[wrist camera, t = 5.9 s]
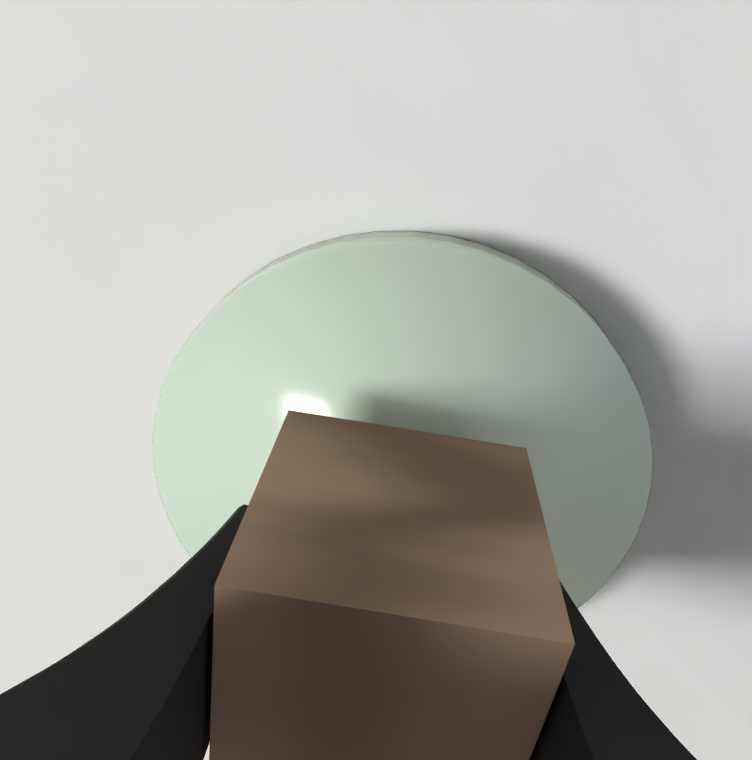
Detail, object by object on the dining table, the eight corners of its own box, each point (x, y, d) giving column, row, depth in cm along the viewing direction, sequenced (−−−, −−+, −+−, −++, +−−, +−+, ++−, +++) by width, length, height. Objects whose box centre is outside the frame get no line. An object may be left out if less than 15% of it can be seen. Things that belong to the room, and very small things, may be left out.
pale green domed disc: (718, 288, 14) (742, 306, 13) (554, 661, 19) (561, 696, 18) (177, 183, 14) (156, 192, 13) (165, 586, 19) (149, 617, 18)
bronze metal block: (526, 447, 13) (575, 644, 9) (476, 620, 15) (494, 847, 11) (288, 410, 13) (213, 585, 9) (273, 587, 15) (208, 799, 11)
